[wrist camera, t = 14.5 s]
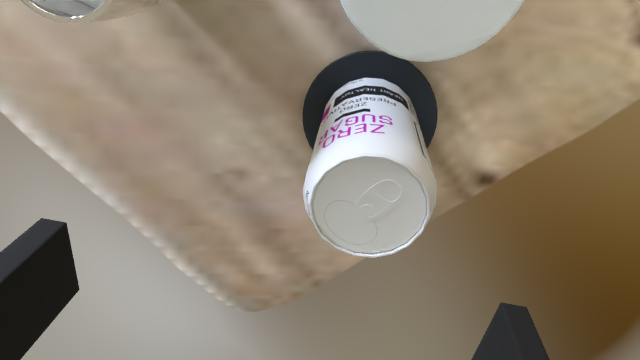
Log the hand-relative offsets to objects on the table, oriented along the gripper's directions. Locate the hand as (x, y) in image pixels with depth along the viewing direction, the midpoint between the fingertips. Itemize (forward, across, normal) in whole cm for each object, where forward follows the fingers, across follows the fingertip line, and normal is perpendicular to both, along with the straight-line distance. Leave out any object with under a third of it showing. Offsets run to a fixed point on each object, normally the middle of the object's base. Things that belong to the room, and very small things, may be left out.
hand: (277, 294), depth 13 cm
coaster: (+27, +4, -4) cm, 27 cm away
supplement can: (+26, +4, -4) cm, 27 cm away
